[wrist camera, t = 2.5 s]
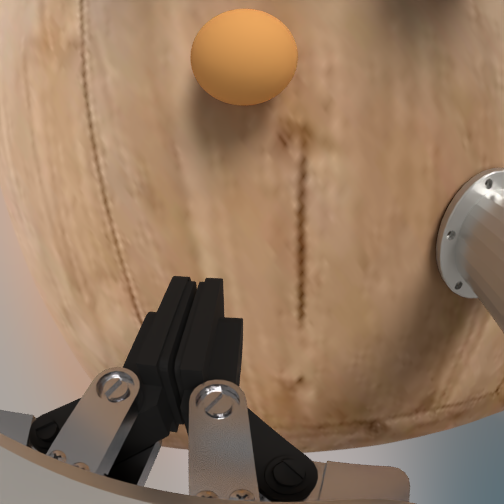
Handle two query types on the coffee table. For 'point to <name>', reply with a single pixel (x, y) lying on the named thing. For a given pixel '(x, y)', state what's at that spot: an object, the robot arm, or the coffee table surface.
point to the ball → (244, 57)
